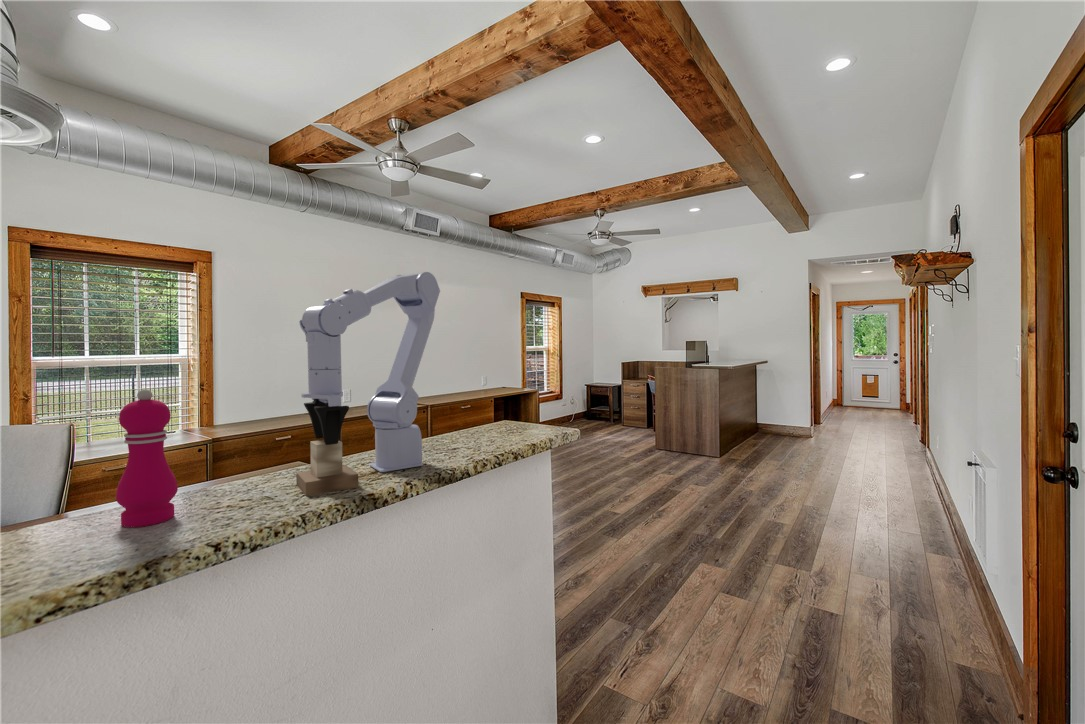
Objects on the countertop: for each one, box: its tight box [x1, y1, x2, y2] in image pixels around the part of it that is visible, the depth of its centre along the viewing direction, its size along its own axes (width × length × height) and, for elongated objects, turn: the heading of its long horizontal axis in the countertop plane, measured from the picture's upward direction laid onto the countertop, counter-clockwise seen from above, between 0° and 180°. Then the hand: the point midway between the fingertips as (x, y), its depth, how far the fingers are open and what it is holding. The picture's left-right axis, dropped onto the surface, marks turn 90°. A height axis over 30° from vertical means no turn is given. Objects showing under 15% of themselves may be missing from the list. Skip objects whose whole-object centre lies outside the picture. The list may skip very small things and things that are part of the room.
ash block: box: [309, 439, 343, 478], centre depth 90 cm, size 4×4×6 cm
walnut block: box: [295, 464, 360, 497], centre depth 90 cm, size 9×9×3 cm
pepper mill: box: [115, 388, 179, 528], centre depth 72 cm, size 7×7×20 cm
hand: (326, 440), depth 90 cm, fingers open, 7 cm apart
